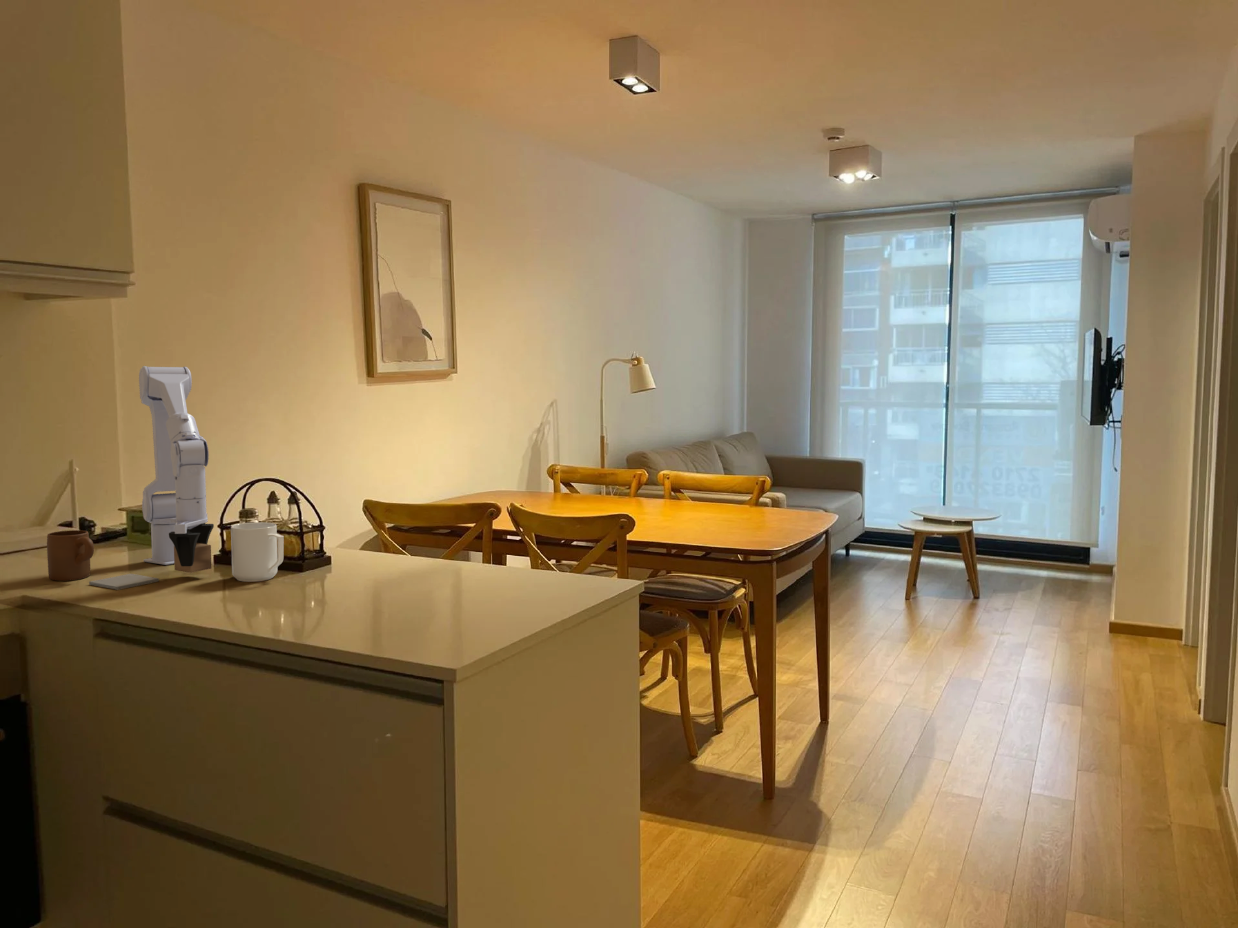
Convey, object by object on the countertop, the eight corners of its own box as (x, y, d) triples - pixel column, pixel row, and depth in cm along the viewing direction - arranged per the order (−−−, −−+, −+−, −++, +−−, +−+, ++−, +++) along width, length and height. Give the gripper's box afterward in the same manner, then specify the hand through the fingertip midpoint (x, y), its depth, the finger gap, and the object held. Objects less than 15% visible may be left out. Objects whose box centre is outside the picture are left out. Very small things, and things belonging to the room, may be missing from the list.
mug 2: (222, 579, 192) (221, 526, 191) (255, 571, 200) (254, 521, 199) (266, 585, 187) (265, 531, 186) (298, 577, 195) (297, 525, 194)
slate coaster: (131, 576, 194) (131, 573, 194) (158, 581, 190) (158, 578, 190) (89, 584, 186) (89, 581, 186) (117, 589, 182) (117, 586, 182)
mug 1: (111, 578, 192) (109, 534, 191) (74, 585, 185) (72, 539, 184) (77, 572, 198) (75, 528, 197) (40, 578, 191) (38, 533, 190)
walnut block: (195, 565, 197) (194, 542, 196) (211, 568, 194) (210, 544, 194) (174, 569, 192) (173, 546, 192) (190, 572, 190) (189, 548, 189)
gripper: (182, 493, 198) (184, 555, 200) (157, 502, 184) (160, 569, 185) (216, 493, 199) (218, 555, 201) (195, 502, 185) (197, 569, 186)
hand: (192, 562), depth 193 cm, fingers closed on walnut block, 7 cm apart
